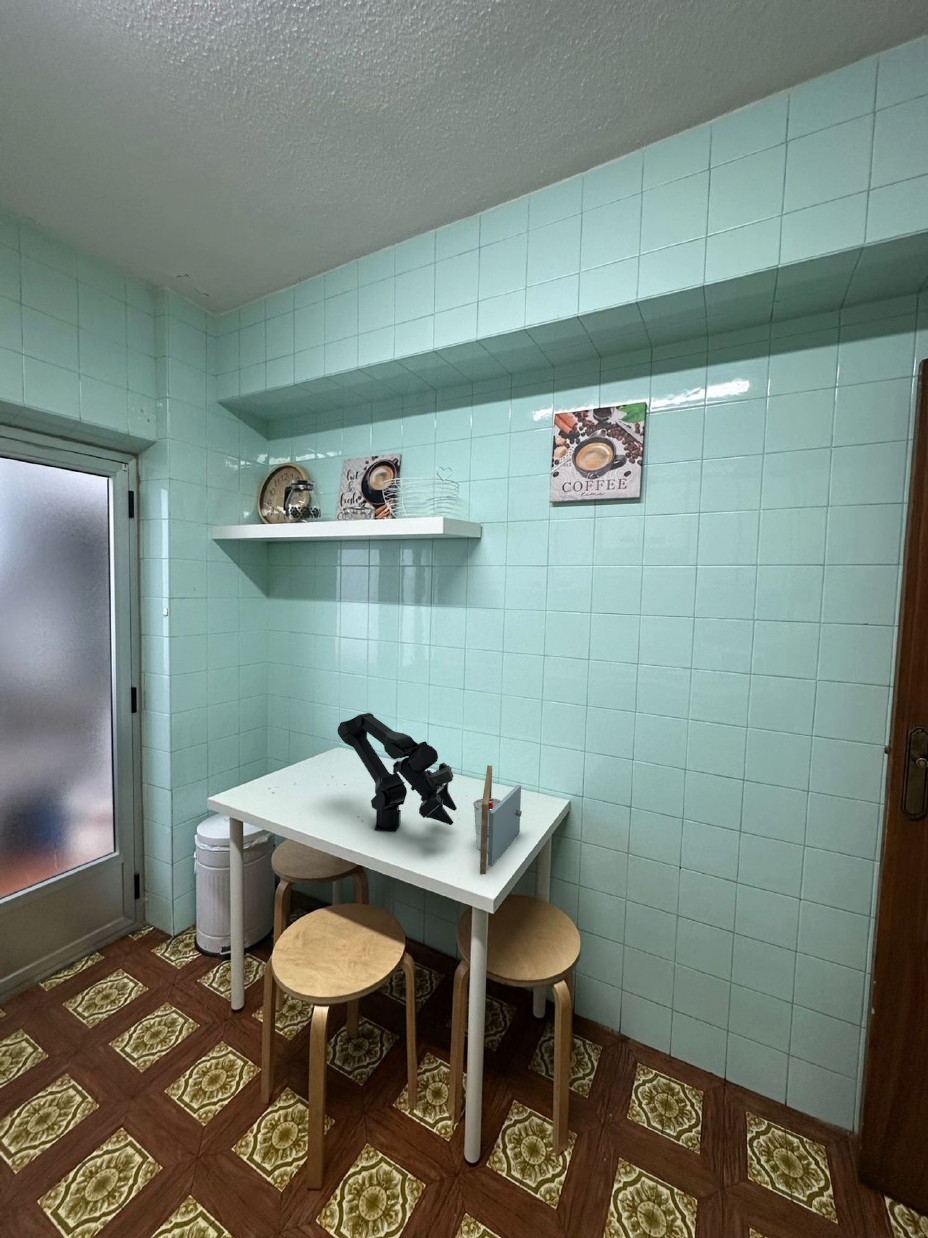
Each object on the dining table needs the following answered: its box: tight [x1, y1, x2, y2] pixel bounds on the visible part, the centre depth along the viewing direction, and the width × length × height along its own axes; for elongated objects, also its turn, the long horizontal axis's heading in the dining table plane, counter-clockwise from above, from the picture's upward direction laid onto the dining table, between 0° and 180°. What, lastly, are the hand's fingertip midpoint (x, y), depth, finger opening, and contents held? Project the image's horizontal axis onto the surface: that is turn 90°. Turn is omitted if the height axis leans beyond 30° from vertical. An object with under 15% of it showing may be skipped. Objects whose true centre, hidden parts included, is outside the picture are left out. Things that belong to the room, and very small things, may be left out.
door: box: [487, 784, 523, 867], centre depth 141 cm, size 2×21×14 cm, turn 154°
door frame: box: [479, 764, 493, 875], centre depth 142 cm, size 2×29×18 cm, turn 175°
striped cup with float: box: [472, 797, 501, 853], centre depth 142 cm, size 10×8×12 cm
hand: (454, 816), depth 145 cm, fingers open, 9 cm apart
